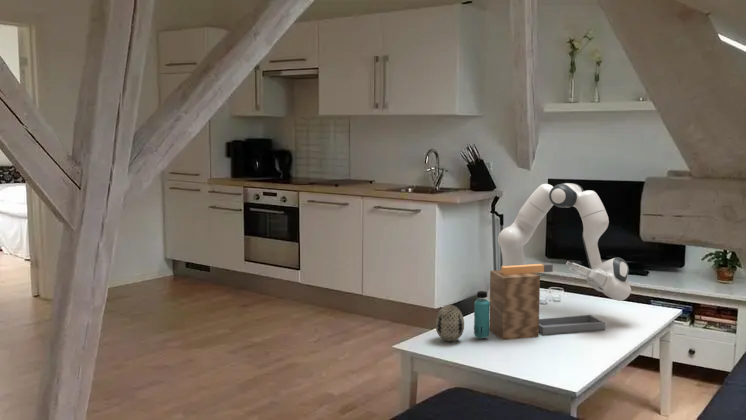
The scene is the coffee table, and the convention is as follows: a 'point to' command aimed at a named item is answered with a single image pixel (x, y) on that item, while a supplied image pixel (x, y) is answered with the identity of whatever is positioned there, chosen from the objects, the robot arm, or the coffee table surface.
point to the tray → (570, 325)
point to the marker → (526, 269)
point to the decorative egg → (449, 323)
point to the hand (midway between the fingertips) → (572, 265)
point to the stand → (514, 305)
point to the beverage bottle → (481, 315)
